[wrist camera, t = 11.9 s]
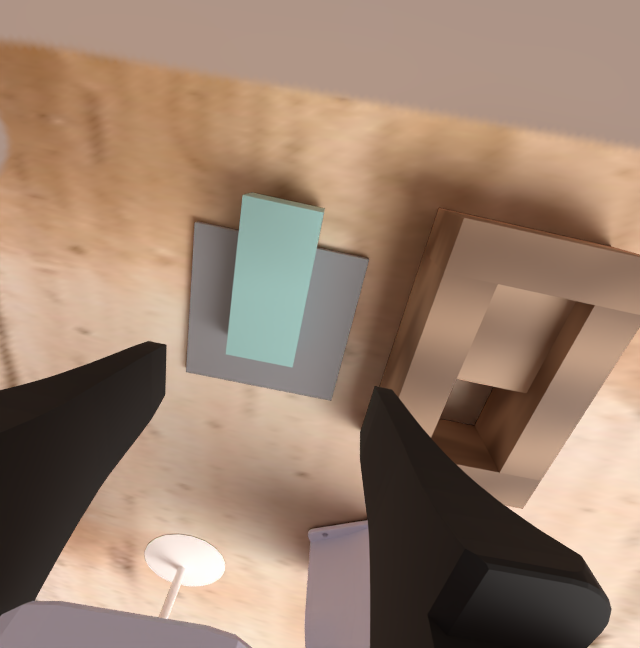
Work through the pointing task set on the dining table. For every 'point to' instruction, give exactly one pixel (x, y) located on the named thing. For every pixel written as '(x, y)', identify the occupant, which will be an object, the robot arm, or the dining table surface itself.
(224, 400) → the dining table surface
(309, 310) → the grey mat
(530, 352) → the walnut frame
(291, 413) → the dining table surface
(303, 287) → the teal block
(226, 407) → the dining table surface
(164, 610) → the wineglass
